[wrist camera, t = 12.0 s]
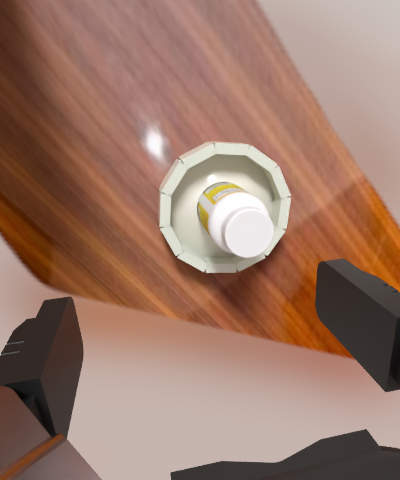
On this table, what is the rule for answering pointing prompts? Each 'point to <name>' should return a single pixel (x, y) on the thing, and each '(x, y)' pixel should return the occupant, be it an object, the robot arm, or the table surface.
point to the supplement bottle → (235, 219)
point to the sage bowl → (203, 175)
